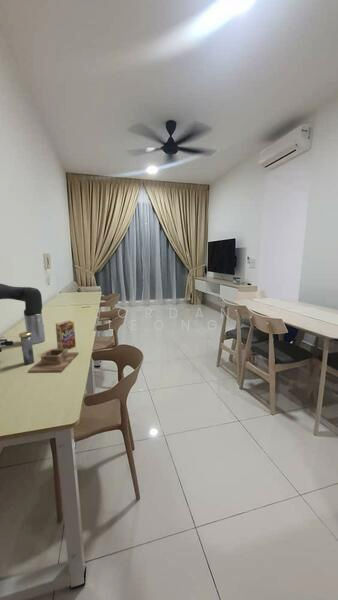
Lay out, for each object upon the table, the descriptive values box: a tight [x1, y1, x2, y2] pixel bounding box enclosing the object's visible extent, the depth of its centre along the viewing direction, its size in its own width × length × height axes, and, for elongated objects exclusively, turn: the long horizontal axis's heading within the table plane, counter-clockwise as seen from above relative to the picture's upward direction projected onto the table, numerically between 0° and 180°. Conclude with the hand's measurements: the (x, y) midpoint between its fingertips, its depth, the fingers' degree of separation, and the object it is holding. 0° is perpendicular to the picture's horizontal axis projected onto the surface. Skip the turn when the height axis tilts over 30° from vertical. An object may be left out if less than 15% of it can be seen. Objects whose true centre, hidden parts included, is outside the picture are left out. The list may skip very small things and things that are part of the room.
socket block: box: [28, 348, 80, 373], centre depth 117 cm, size 20×15×5 cm
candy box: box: [55, 319, 77, 350], centre depth 134 cm, size 9×4×15 cm, turn 144°
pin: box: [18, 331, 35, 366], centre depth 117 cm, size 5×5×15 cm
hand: (7, 346), depth 117 cm, fingers open, 8 cm apart
